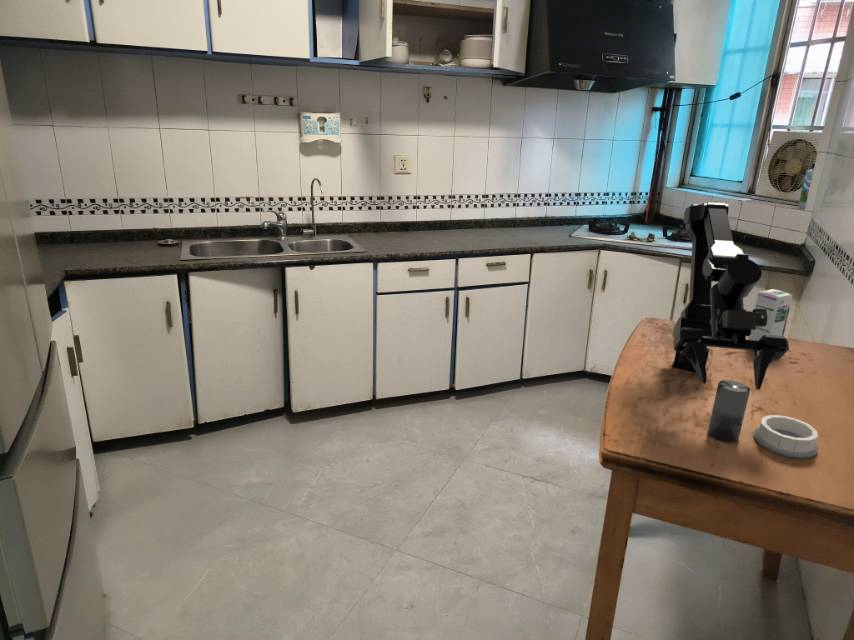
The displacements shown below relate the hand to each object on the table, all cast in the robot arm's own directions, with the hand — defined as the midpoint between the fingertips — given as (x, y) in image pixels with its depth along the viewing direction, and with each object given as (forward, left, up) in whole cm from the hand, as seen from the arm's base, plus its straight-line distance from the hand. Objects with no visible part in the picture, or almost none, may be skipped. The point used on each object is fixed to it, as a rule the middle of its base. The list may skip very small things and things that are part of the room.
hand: (731, 386), depth 108 cm
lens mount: (+10, +2, -9) cm, 14 cm away
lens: (0, -1, -9) cm, 10 cm away
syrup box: (+5, +55, -10) cm, 56 cm away
